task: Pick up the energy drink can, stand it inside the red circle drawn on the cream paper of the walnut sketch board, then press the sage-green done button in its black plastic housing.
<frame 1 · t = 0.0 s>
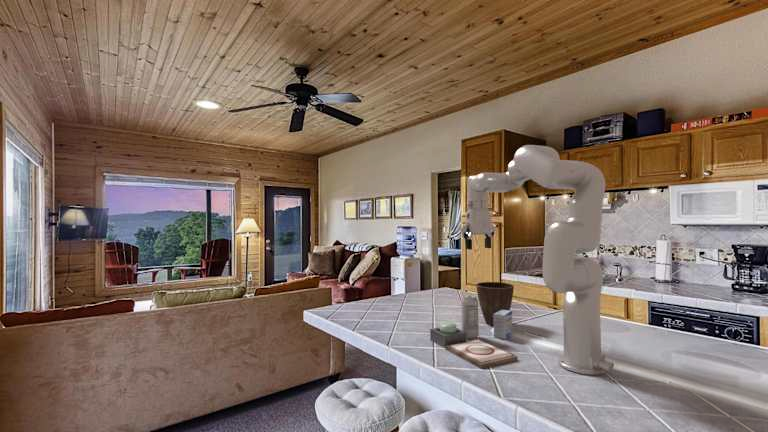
hand: (478, 248, 147), 31 cm above the worktop, tool pointing down, fingers open, 9 cm apart
plant pot: (495, 324, 150), on the worktop
medicine box: (503, 336, 135), on the worktop
energy drink can: (470, 337, 134), on the worktop
button housing: (448, 341, 129), on the worktop
done button: (448, 329, 129), point 4 cm above the worktop, slide at 0.0 cm
sketch board: (479, 354, 117), on the worktop
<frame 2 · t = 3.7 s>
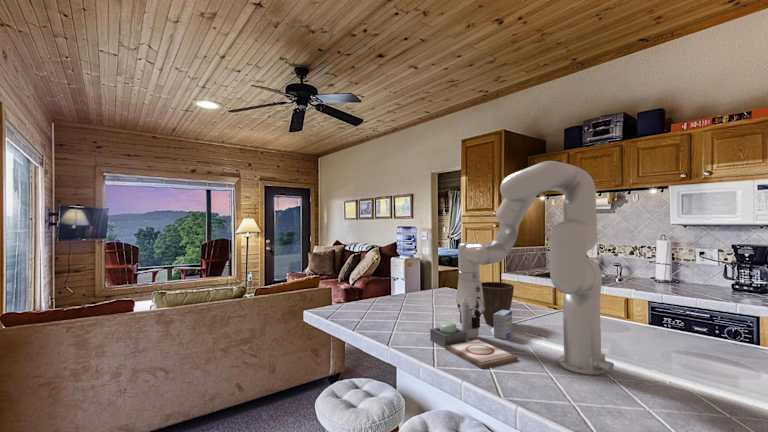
hand: (469, 325, 134), 4 cm above the worktop, tool pointing down, fingers closed on energy drink can, 6 cm apart
energy drink can: (470, 337, 134), on the worktop, touching gripper
everything else where it was.
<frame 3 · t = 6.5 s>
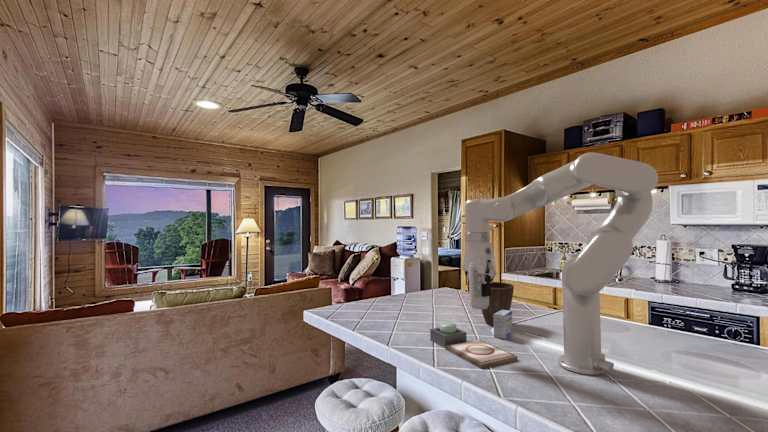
hand: (479, 293, 117), 19 cm above the worktop, tool pointing down, fingers closed on energy drink can, 6 cm apart
energy drink can: (479, 308, 117), point 15 cm above the worktop, touching gripper
everything else where it was.
when the fingers open (7 cm above the worktop, at t = 9.4 s): energy drink can stays where it is, resting on sketch board.
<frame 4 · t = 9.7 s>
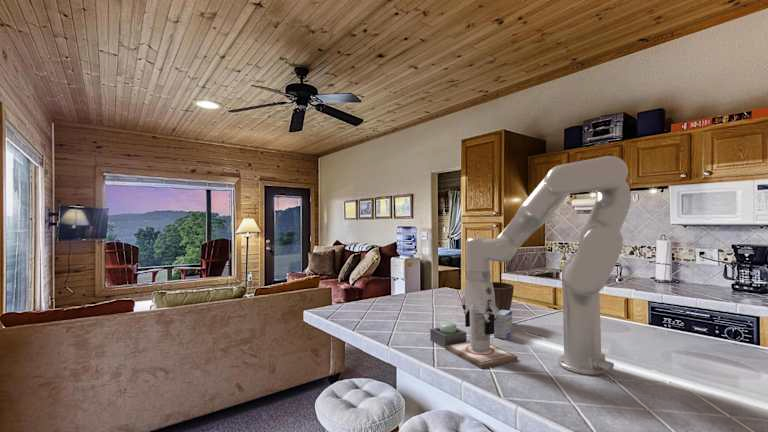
hand: (479, 330, 117), 8 cm above the worktop, tool pointing down, fingers open, 9 cm apart
energy drink can: (480, 350, 117), point 1 cm above the worktop, touching sketch board
everything else where it was.
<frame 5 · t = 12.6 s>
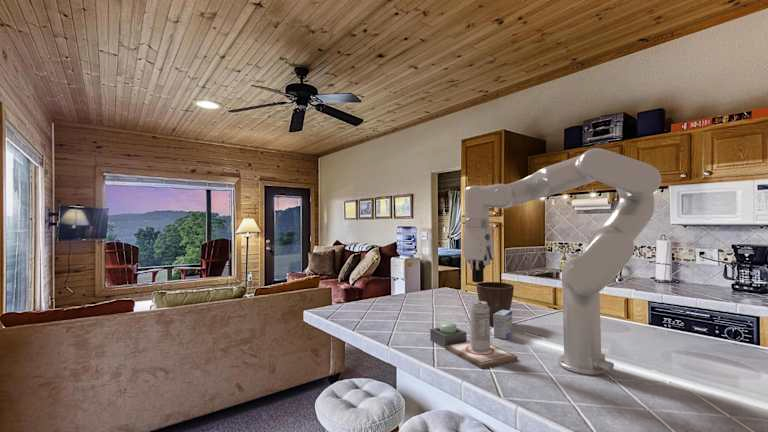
hand: (478, 281, 117), 23 cm above the worktop, tool pointing down, fingers closed
nothing on the worktop moved.
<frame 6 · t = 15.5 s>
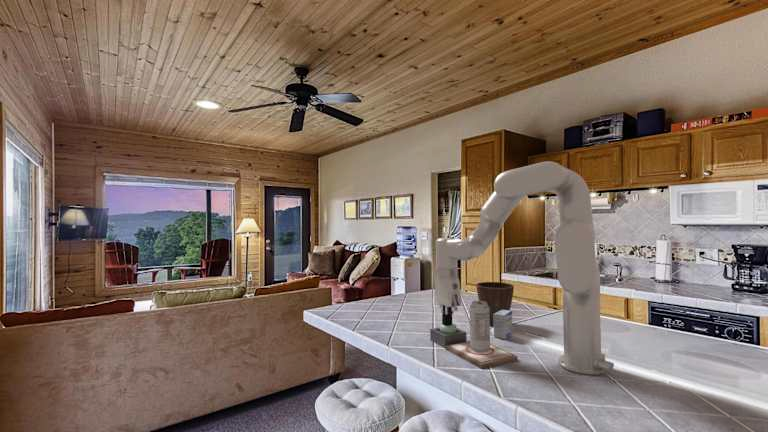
hand: (447, 324, 129), 6 cm above the worktop, tool pointing down, fingers closed
done button: (448, 329, 129), point 4 cm above the worktop, slide at 0.1 cm, touching gripper
everything else where it was.
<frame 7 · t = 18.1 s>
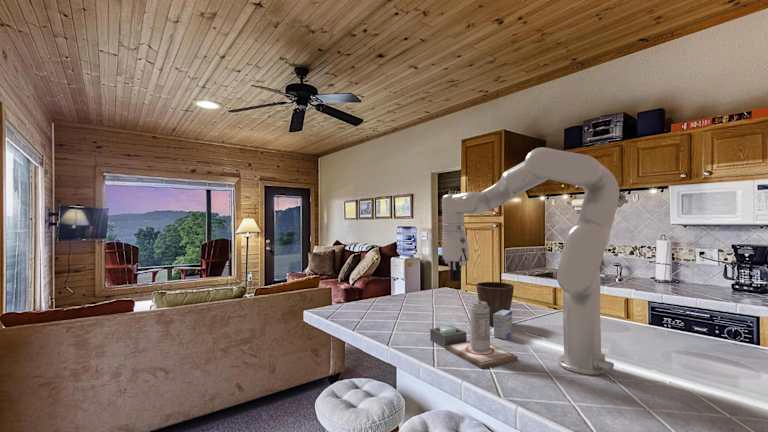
hand: (455, 280, 129), 21 cm above the worktop, tool pointing down, fingers closed
done button: (448, 332, 129), point 3 cm above the worktop, slide at 1.3 cm
everything else where it was.
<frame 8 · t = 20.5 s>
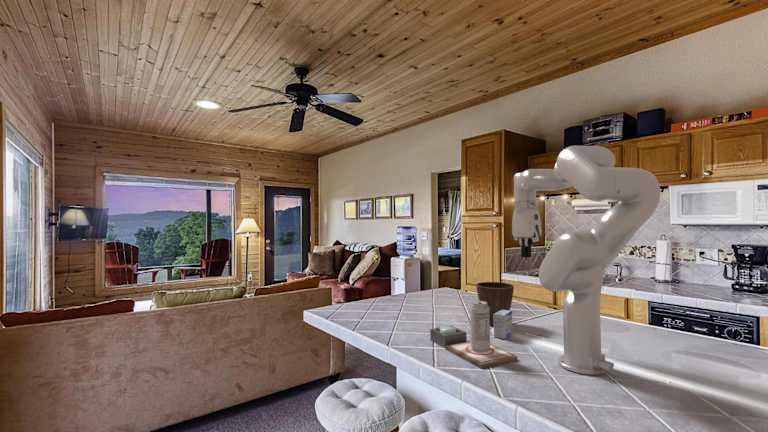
hand: (526, 257, 132), 29 cm above the worktop, tool pointing down, fingers closed
nothing on the worktop moved.
at the end: energy drink can inside the target area on the sketch board (0.2 cm from its centre), point 1.4 cm above the sketch board's base; energy drink can tilted 0°; done button slide at 1.3 cm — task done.
